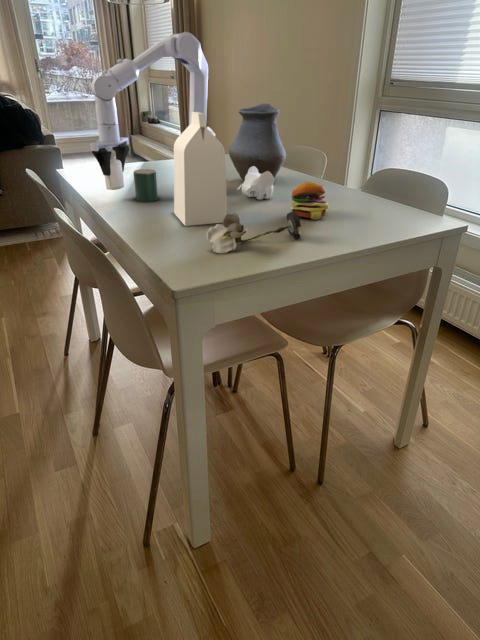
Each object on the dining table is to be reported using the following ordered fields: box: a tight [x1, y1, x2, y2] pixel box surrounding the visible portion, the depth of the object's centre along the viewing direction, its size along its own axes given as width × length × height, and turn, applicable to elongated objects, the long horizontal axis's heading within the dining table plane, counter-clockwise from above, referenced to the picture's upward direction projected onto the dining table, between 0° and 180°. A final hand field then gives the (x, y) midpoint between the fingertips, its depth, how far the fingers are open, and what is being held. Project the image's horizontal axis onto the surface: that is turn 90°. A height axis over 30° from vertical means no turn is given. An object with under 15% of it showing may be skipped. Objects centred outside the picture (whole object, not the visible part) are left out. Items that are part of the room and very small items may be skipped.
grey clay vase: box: [228, 103, 287, 182], centre depth 158 cm, size 21×22×25 cm
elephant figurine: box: [236, 166, 276, 201], centre depth 140 cm, size 10×12×9 cm
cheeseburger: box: [290, 181, 329, 221], centre depth 126 cm, size 10×11×10 cm
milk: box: [173, 112, 228, 227], centre depth 117 cm, size 12×12×26 cm
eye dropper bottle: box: [104, 146, 125, 191], centre depth 134 cm, size 4×6×12 cm
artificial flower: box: [206, 210, 302, 254], centre depth 104 cm, size 9×22×10 cm, turn 109°
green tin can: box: [132, 168, 158, 203], centre depth 137 cm, size 7×7×8 cm
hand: (113, 173), depth 135 cm, fingers closed on eye dropper bottle, 5 cm apart
